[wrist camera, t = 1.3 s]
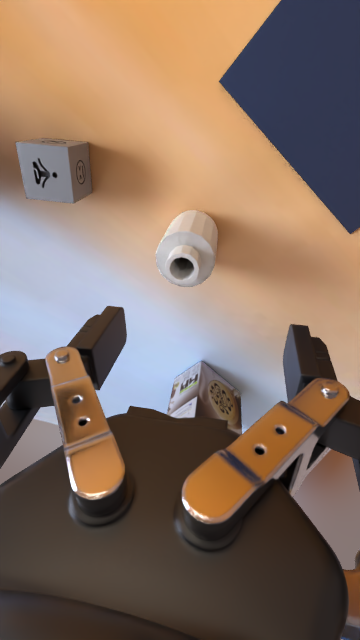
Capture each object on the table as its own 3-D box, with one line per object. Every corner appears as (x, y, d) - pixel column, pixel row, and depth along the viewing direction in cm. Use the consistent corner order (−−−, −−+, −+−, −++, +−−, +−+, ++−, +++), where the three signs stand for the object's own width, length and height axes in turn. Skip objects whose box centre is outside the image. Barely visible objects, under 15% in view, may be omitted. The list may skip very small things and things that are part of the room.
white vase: (159, 235, 38) (139, 268, 30) (192, 198, 35) (179, 225, 27) (194, 267, 39) (184, 307, 31) (228, 234, 37) (226, 269, 29)
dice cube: (42, 137, 34) (15, 142, 30) (88, 142, 33) (67, 147, 29) (49, 188, 37) (26, 198, 32) (92, 192, 36) (73, 203, 32)
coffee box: (172, 379, 50) (149, 477, 37) (202, 358, 47) (188, 457, 34) (212, 411, 53) (204, 513, 40) (243, 394, 50) (245, 498, 36)
